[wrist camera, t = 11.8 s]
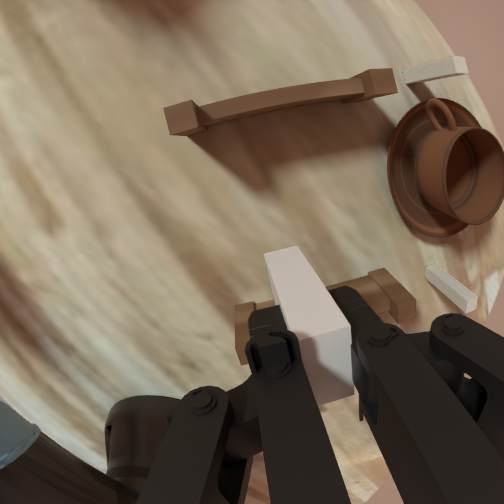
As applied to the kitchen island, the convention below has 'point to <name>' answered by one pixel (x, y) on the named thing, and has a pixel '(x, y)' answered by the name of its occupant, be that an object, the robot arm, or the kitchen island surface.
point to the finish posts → (434, 272)
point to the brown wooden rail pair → (348, 90)
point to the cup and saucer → (444, 168)
